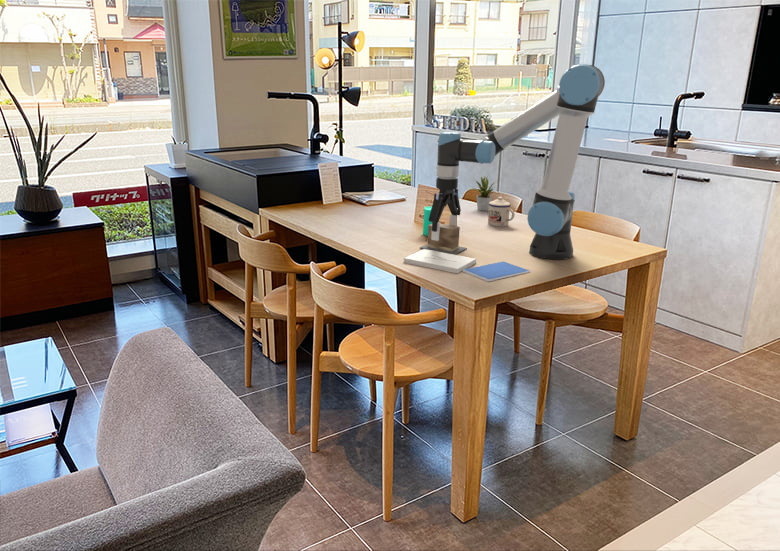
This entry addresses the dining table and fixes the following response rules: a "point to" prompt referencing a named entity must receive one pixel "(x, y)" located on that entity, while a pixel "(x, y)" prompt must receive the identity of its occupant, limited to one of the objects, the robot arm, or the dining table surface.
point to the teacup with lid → (499, 212)
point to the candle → (426, 220)
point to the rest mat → (444, 250)
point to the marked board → (440, 260)
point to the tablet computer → (495, 271)
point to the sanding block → (445, 237)
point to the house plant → (483, 194)
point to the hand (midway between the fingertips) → (444, 236)
